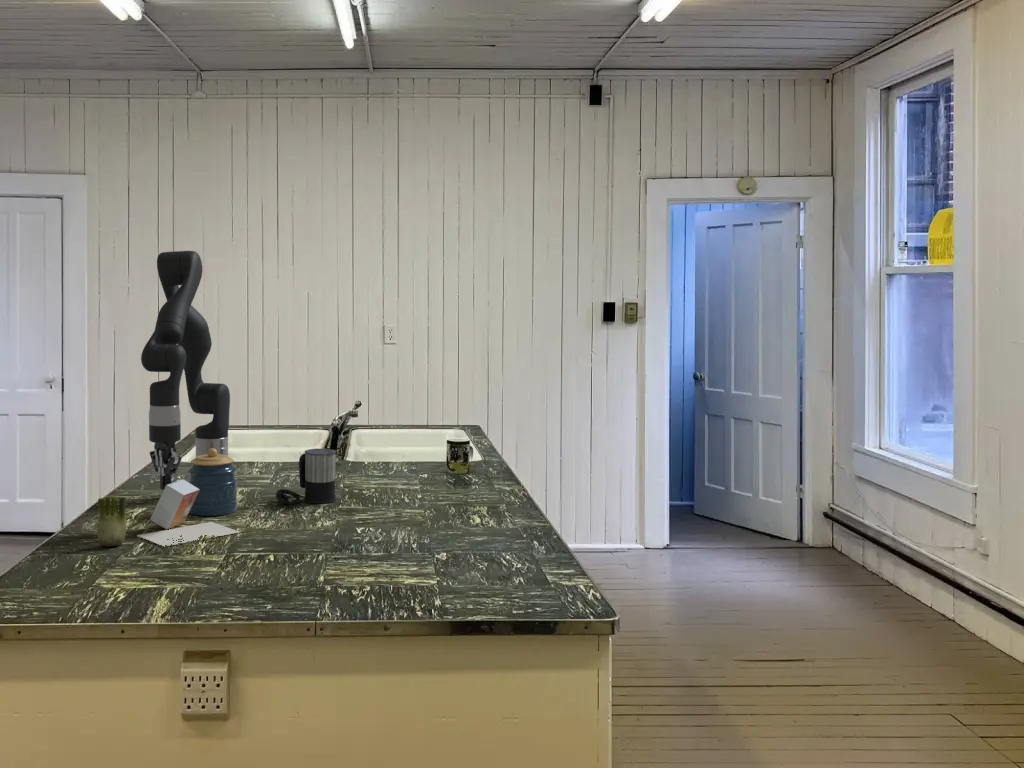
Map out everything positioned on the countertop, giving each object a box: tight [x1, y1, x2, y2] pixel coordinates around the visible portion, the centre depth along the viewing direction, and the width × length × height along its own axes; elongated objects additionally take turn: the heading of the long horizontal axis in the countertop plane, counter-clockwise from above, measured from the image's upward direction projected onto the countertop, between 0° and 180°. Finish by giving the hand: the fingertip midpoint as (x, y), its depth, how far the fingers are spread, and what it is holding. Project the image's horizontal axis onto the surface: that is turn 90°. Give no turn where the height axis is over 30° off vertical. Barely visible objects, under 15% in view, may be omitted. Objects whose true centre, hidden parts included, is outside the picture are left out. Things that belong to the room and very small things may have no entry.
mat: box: [136, 521, 241, 547], centre depth 230 cm, size 20×14×1 cm
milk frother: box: [275, 448, 337, 505], centre depth 268 cm, size 14×16×15 cm
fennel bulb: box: [96, 495, 127, 548], centre depth 218 cm, size 6×5×12 cm
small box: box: [150, 479, 200, 530], centre depth 237 cm, size 8×6×10 cm
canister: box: [187, 448, 238, 517], centre depth 254 cm, size 13×13×18 cm
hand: (165, 489), depth 236 cm, fingers closed
